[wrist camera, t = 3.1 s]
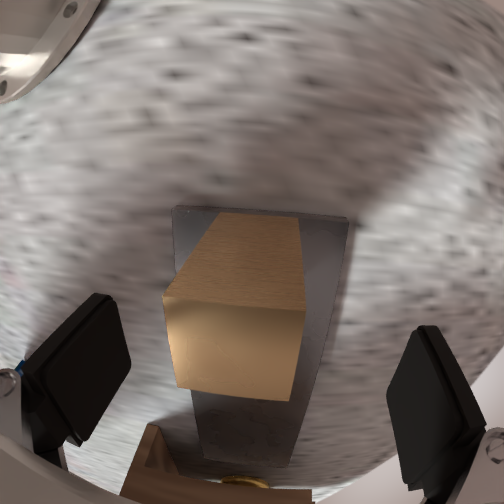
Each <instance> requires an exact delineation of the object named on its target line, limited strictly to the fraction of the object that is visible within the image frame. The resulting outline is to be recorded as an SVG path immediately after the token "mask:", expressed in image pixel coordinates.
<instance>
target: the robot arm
mask: <svg viewBox="0 0 504 504" xmlns="http://www.w3.org/2000/svg"><path fill="white" fill-rule="evenodd" d="M100 1H101V0H0V104H6V103H8V102H11V101H14V100H17V99H19V98H20V97H22V96H24V95H25V94H27V93H28V92H30V91H31V90H32V89H33V88H35V87H36V86H37V85H38V84H39V83H40V82H42V81H43V80H44V79H45V78H46V77H47V76H48V75H49V73H50V72H51V71H52V70H53V69H54V68H55V67H56V66H57V65H58V64H59V63H60V61H61V60H62V59H63V57H64V56H65V55H66V53H67V52H68V51H69V50H70V48H71V47H72V46H73V45H74V43H75V42H76V40H77V39H78V37H79V35H80V34H81V32H82V31H83V29H84V28H85V27H86V25H87V24H88V22H89V20H90V19H91V17H92V15H93V13H94V11H95V10H96V8H97V6H98V4H99V3H100ZM20 368H21V370H22V372H23V375H22V376H21V377H20V375H19V374H18V372H17V371H15V370H13V369H10V368H6V369H1V370H0V504H141V503H138V502H135V501H132V500H130V499H127V498H124V497H122V496H119V495H116V494H114V493H112V492H109V491H107V490H104V489H102V488H100V487H97V486H95V485H93V484H91V483H89V482H87V481H84V480H82V479H80V478H78V477H76V476H74V475H72V474H70V473H69V471H68V467H67V462H66V458H65V453H64V449H63V443H64V441H65V440H66V441H67V442H69V443H71V444H73V445H75V446H78V447H80V446H81V445H82V443H83V441H87V440H88V439H89V438H90V436H91V434H92V432H93V431H94V429H95V427H96V426H97V424H98V422H99V420H100V419H101V417H102V415H103V414H104V412H105V410H106V409H107V407H108V405H109V404H110V402H111V400H112V399H113V397H114V395H115V394H116V392H117V390H118V389H119V387H120V386H121V384H122V382H123V381H124V379H125V377H126V376H127V374H128V373H129V371H130V368H131V359H130V355H129V352H128V348H127V344H126V341H125V337H124V333H123V329H122V325H121V321H120V316H119V312H118V307H117V304H116V302H115V301H113V298H112V297H111V296H110V295H105V294H100V293H94V294H92V295H91V296H90V297H89V298H88V299H87V300H86V301H85V302H84V303H83V304H82V305H81V306H80V307H79V308H78V309H77V310H76V311H74V312H73V313H72V314H71V315H70V316H69V317H68V318H67V319H66V320H65V321H64V322H63V323H62V324H61V325H60V326H59V327H58V328H57V329H56V330H55V331H54V332H53V333H52V334H51V335H50V336H49V338H48V339H47V340H46V341H45V342H44V343H43V344H42V345H41V346H40V347H39V348H38V349H37V350H36V351H35V352H34V353H33V354H32V355H31V356H30V358H29V359H28V360H27V361H26V362H25V363H24V364H23V365H22V366H21V367H20ZM386 399H387V404H388V408H389V412H390V417H391V421H392V426H393V431H394V435H395V440H396V445H397V451H398V456H399V461H400V467H401V473H402V479H403V482H404V483H405V484H408V491H413V490H418V489H423V490H424V497H423V499H422V501H421V502H420V504H504V428H500V427H497V428H492V429H490V430H488V431H487V432H486V430H485V426H486V425H487V424H486V421H485V419H484V417H483V414H482V412H481V410H480V408H479V405H478V403H477V401H476V399H475V397H474V395H473V392H472V390H471V388H470V386H469V384H468V382H467V380H466V378H465V376H464V374H463V372H462V370H461V368H460V366H459V364H458V362H457V361H456V359H455V357H454V355H453V353H452V351H451V349H450V348H449V346H448V344H447V342H446V340H445V339H444V337H443V335H442V333H441V332H440V330H439V328H438V327H437V326H425V325H421V326H419V327H418V328H417V330H414V331H413V332H412V333H411V336H410V338H409V341H408V343H407V346H406V348H405V351H404V353H403V356H402V358H401V360H400V363H399V365H398V367H397V370H396V372H395V374H394V376H393V378H392V381H391V383H390V385H389V387H388V389H387V393H386Z"/></svg>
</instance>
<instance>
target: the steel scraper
mask: <svg viewBox="0 0 504 504" xmlns="http://www.w3.org/2000/svg"><path fill="white" fill-rule="evenodd" d="M348 226H349V222H348V220H347V218H346V217H337V216H327V215H316V214H305V213H293V212H281V211H267V210H253V209H238V208H222V207H204V206H183V205H177V206H175V207H174V208H173V209H172V227H173V243H174V257H175V269H176V276H175V278H174V279H173V281H172V282H171V284H170V285H169V287H168V288H167V290H166V291H165V293H164V294H163V296H162V299H163V306H164V313H165V320H166V326H167V333H168V339H169V345H170V350H171V356H172V361H173V367H174V372H175V377H176V382H177V387H180V388H185V389H190V390H191V396H192V401H193V407H194V413H195V418H196V423H197V428H198V434H199V438H200V443H201V448H202V453H203V457H204V458H205V459H210V460H216V461H223V462H230V463H237V464H246V465H255V466H266V467H281V468H287V466H288V463H289V460H290V458H291V455H292V452H293V449H294V446H295V443H296V440H297V437H298V434H299V431H300V428H301V425H302V422H303V419H304V416H305V412H306V409H307V406H308V403H309V399H310V396H311V393H312V389H313V386H314V382H315V379H316V375H317V371H318V368H319V364H320V360H321V356H322V352H323V348H324V344H325V340H326V336H327V332H328V328H329V324H330V319H331V315H332V311H333V306H334V301H335V297H336V292H337V287H338V282H339V277H340V272H341V267H342V261H343V256H344V250H345V244H346V238H347V232H348Z"/></svg>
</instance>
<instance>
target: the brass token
mask: <svg viewBox="0 0 504 504" xmlns="http://www.w3.org/2000/svg"><path fill="white" fill-rule="evenodd" d="M220 483H224V484H231V485H239V486H248V487H259V488H269V484H268V483H267V482H266V481H264V480H261V479H258V478H254V477H248V476H226V477H223V478H222V479H221V481H220Z"/></svg>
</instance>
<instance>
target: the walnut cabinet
mask: <svg viewBox="0 0 504 504" xmlns="http://www.w3.org/2000/svg"><path fill="white" fill-rule="evenodd" d="M119 496H122V497H124V498H127V499H130V500H132V501H135V502H138V503H141V504H315V502H312V489H274V488H259V487H248V486H239V485H231V484H224V483H217V482H211V481H205V480H199V479H194V478H189V477H185V476H180V475H179V472H178V470H177V468H176V466H175V464H174V462H173V459H172V457H171V455H170V452H169V450H168V448H167V445H166V443H165V441H164V438H163V436H162V433H161V431H160V428H159V426H155V425H151V424H147V426H146V428H145V431H144V433H143V436H142V438H141V441H140V443H139V446H138V448H137V451H136V453H135V456H134V458H133V461H132V463H131V466H130V468H129V471H128V473H127V476H126V478H125V481H124V484H123V486H122V489H121V491H120V494H119Z"/></svg>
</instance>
